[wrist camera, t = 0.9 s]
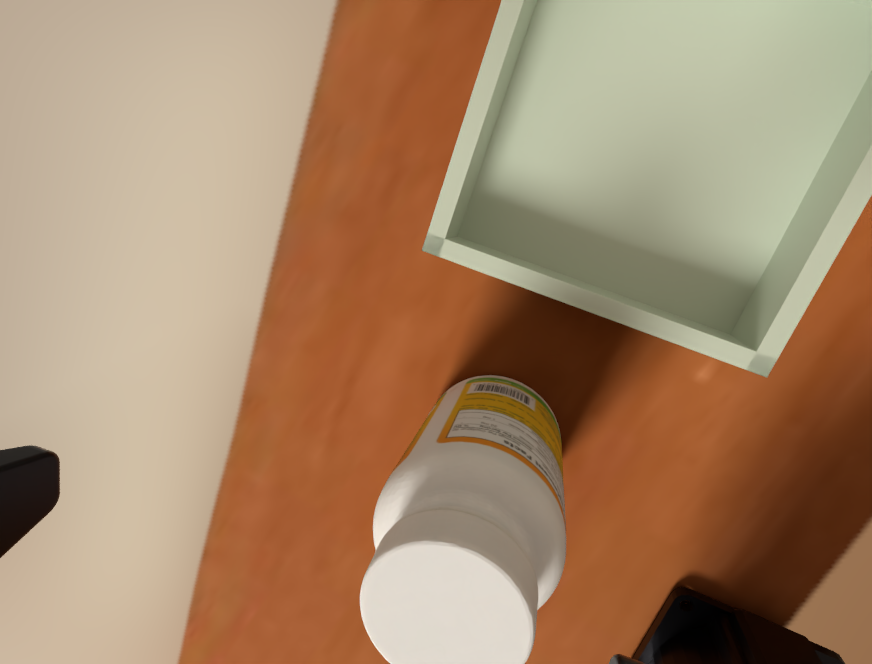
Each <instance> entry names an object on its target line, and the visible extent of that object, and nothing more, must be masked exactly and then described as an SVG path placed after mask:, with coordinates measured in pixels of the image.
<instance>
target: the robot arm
mask: <svg viewBox="0 0 872 664" xmlns="http://www.w3.org/2000/svg"><path fill="white" fill-rule="evenodd" d="M59 463H60V462H59V458H58V456H57V454H55V453H54V452H52V451H49V450H46V449H43V448H41V447H37V446H23V447H17V448H12V449H5V450H0V558H1V557H2V556H3V555H4V554H5V553H6V552H7V551H8V550H9V549H11V547H13V546H14V545H15V544H16V543H17V542H18V541H19V540H20V539H21V538H22V537H24V536H25V535H26V534H27V533H28V532H29V531H30V530H31V529H32V528H33V527H34V526H35V525H36V524H37V523H38V522H40V521H41V520H42V519H43V518H44V517H45V516H46V515H47V514H48V513H49V512H50V511H51V510H52V509H53V508H54V506H55V505H56V503H57V501H58V499H59V494H60V482H59V481H60V477H59V475H60V472H59V471H60V469H59V467H60V466H59V465H60V464H59ZM684 600H688V601H690V602H689V603H687V604H682V603H680V602H682V601H684ZM609 664H845V663H844V661H843V660H842V658H841V657H840V655H839V654H837V653H835V652H834V651H831V650H829V649H827V648H825V647H822V646H820V645H818V644H815V643H813V642H811V641H809V640H808V639H807V638H806V637H805V636H803V635H800V634H798V633H796V632H793V631H791V630H789V629H787V628H784V627H782V626H780V625H777V624H775V623H773V622H770V621H768V620H766V619H764V618H761V617H759V616H757V615H754V614H752V613H750V612H747V611H745V610H742V609H735V608H733V607H730V606H728V605H726V604H723V603H721V602H719V601H717V600H714V599H712V598H710V597H707V596H705V595H703V594H700V593H698V592H696V591H694V590H691V589H689V588H685V587H683V588H677V589H675V590H674V591H673V592H672V593H671V594H670V596H669V598H668V599H667V601H666V603H665V605H664V606H663V608H662V610H661V611H660V613H659V615H658V616H657V618H656V620H655V621H654V623H653V625H652V626H651V628H650V630H649V631H648V633H647V635H646V636H645V638H644V640H643V642H642V643H641V645H640V647H639V648H638V650H637V652H636V653H635V655H634V657H633V658H629V657H626V656H624V655H621V654H616V655H614V656H613V657H612V658H611V660H610V662H609Z"/></svg>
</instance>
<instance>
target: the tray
mask: <svg viewBox="0 0 872 664" xmlns="http://www.w3.org/2000/svg"><path fill="white" fill-rule="evenodd" d="M871 195H872V0H502V1H501V4H500V7H499V10H498V14H497V17H496V20H495V23H494V26H493V29H492V32H491V36H490V39H489V42H488V45H487V48H486V51H485V54H484V57H483V61H482V64H481V67H480V70H479V73H478V76H477V79H476V83H475V86H474V89H473V92H472V95H471V98H470V101H469V104H468V108H467V111H466V114H465V117H464V120H463V123H462V126H461V130H460V133H459V136H458V139H457V142H456V145H455V148H454V151H453V155H452V158H451V161H450V164H449V167H448V170H447V173H446V177H445V180H444V183H443V186H442V189H441V192H440V195H439V198H438V202H437V205H436V208H435V211H434V214H433V217H432V220H431V224H430V227H429V230H428V233H427V236H426V239H425V242H424V245H423V249H422V251H425V252H427V253H430V254H433V255H436V256H438V257H441V258H444V259H446V260H449V261H452V262H455V263H457V264H460V265H463V266H465V267H468V268H471V269H474V270H476V271H479V272H482V273H485V274H487V275H490V276H493V277H495V278H498V279H501V280H504V281H506V282H509V283H512V284H514V285H517V286H520V287H523V288H525V289H528V290H531V291H533V292H536V293H539V294H542V295H544V296H547V297H550V298H552V299H555V300H558V301H561V302H563V303H566V304H569V305H571V306H574V307H577V308H580V309H582V310H585V311H588V312H590V313H593V314H596V315H599V316H601V317H604V318H607V319H610V320H612V321H615V322H618V323H620V324H623V325H626V326H629V327H631V328H634V329H637V330H639V331H642V332H645V333H648V334H650V335H653V336H656V337H658V338H661V339H664V340H667V341H669V342H672V343H675V344H677V345H680V346H683V347H686V348H688V349H691V350H694V351H696V352H699V353H702V354H705V355H707V356H710V357H713V358H715V359H718V360H721V361H724V362H726V363H729V364H732V365H735V366H737V367H740V368H743V369H745V370H748V371H751V372H754V373H756V374H759V375H762V376H764V377H768V375H769V373H770V371H771V370H772V368H773V366H774V364H775V363H776V361H777V359H778V357H779V356H780V354H781V352H782V350H783V349H784V347H785V345H786V343H787V342H788V340H789V338H790V336H791V335H792V333H793V331H794V329H795V328H796V326H797V324H798V322H799V321H800V319H801V317H802V316H803V314H804V312H805V310H806V309H807V307H808V305H809V303H810V302H811V300H812V298H813V296H814V295H815V293H816V291H817V289H818V288H819V286H820V284H821V282H822V281H823V279H824V277H825V275H826V274H827V272H828V270H829V268H830V267H831V265H832V263H833V261H834V260H835V258H836V256H837V254H838V253H839V251H840V249H841V247H842V246H843V244H844V242H845V240H846V239H847V237H848V235H849V233H850V232H851V230H852V228H853V227H854V225H855V223H856V221H857V220H858V218H859V216H860V214H861V213H862V211H863V209H864V207H865V206H866V204H867V202H868V200H869V199H870V197H871Z"/></svg>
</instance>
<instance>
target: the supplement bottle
mask: <svg viewBox="0 0 872 664" xmlns="http://www.w3.org/2000/svg"><path fill="white" fill-rule="evenodd" d="M373 537H374V545H375V549H376V552H375V555H374V557H373V559H372V561H371V563H370V565H369V567H368V569H367V571H366V573H365V575H364V578H363V582H362V586H361V591H360V609H361V616H362V619H363V623H364V626H365V628H366V631H367V633H368V635H369V637H370V639H371V641H372V642H373V644H374V645H375V647H376V648H377V649H378V651H379V652H380V653H381V654H382V655H383V657H384V658H385V659H386V660H387V661H388V662H389V663H390V664H525V662H526V661H527V659H528V657H529V655H530V653H531V651H532V647H533V644H534V639H535V631H536V619H537V610H538V609H539V608H540V607H541V606H542V605H543V604H544V603H545V602H546V601H547V600H548V599H549V597H550V596H551V595H552V593H553V592H554V590H555V588H556V587H557V585H558V583H559V580H560V578H561V576H562V572H563V568H564V564H565V557H566V522H565V504H564V487H563V462H562V442H561V435H560V430H559V426H558V423H557V420H556V418H555V415H554V413H553V412H552V410H551V408H550V407H549V405H548V404H547V403H546V402H545V400H544V399H543V398H542V397H541V396H540V395H539V394H538V393H536V392H535V391H534V390H533V389H531V388H530V387H528V386H526V385H525V384H523V383H521V382H519V381H516V380H514V379H511V378H507V377H503V376H495V375H483V376H476V377H472V378H468V379H466V380H463V381H461V382H459V383H457V384H456V385H454V386H452V387H451V388H450V389H448V390H447V391H446V392H445V393H444V394H443V395H442V396H441V397H440V399H439V400H438V401H437V403H436V404H435V405H434V407H433V408H432V410H431V412H430V413H429V415H428V417H427V418H426V420H425V421H424V423H423V425H422V426H421V428H420V429H419V431H418V433H417V434H416V436H415V437H414V439H413V441H412V442H411V444H410V445H409V447H408V448H407V450H406V451H405V453H404V455H403V456H402V458H401V459H400V461H399V462H398V464H397V465H396V467H395V468H394V470H393V472H392V473H391V475H390V477H389V478H388V480H387V482H386V484H385V486H384V488H383V490H382V492H381V494H380V496H379V498H378V502H377V505H376V508H375V513H374V521H373Z"/></svg>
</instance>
